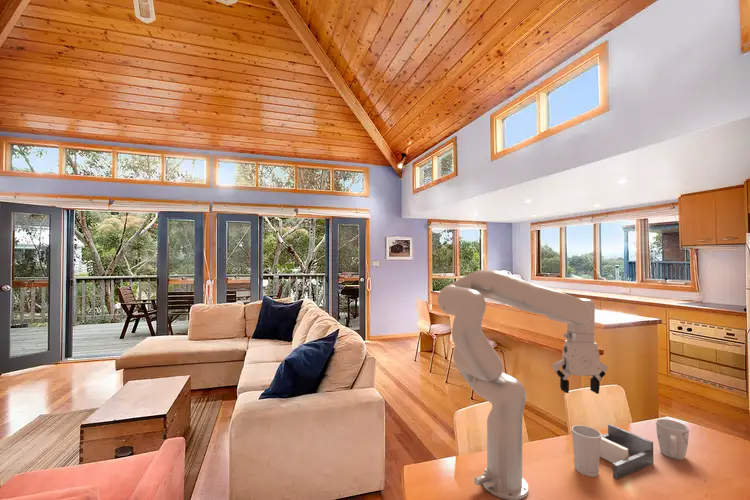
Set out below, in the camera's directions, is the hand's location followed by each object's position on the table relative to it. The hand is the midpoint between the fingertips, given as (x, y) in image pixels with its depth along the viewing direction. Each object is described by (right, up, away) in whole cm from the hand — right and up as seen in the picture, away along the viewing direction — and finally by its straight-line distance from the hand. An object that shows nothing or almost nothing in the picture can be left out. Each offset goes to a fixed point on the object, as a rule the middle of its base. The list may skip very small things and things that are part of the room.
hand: (579, 391), depth 110 cm
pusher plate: (+12, -23, +3) cm, 26 cm away
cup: (+1, -24, -2) cm, 24 cm away
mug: (+35, -24, +6) cm, 43 cm away
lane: (+13, -24, +3) cm, 27 cm away
